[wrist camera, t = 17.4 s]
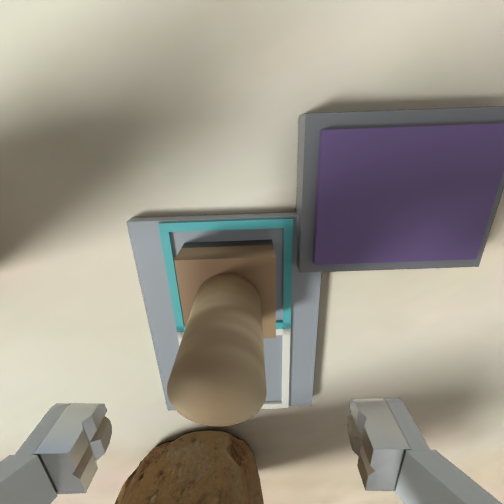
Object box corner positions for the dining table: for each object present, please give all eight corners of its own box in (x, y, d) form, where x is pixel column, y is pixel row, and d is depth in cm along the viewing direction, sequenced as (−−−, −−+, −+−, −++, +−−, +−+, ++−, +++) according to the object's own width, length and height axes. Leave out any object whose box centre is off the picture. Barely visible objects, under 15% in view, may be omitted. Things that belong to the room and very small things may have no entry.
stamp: (271, 239, 16) (291, 331, 9) (272, 312, 18) (288, 438, 10) (184, 242, 16) (128, 337, 9) (194, 315, 18) (156, 442, 11)
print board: (322, 211, 16) (326, 215, 15) (309, 396, 22) (312, 408, 21) (131, 217, 16) (124, 223, 15) (170, 401, 22) (167, 412, 21)
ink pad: (496, 108, 14) (540, 104, 12) (456, 253, 17) (485, 270, 15) (298, 115, 14) (307, 113, 12) (294, 259, 17) (301, 276, 15)
